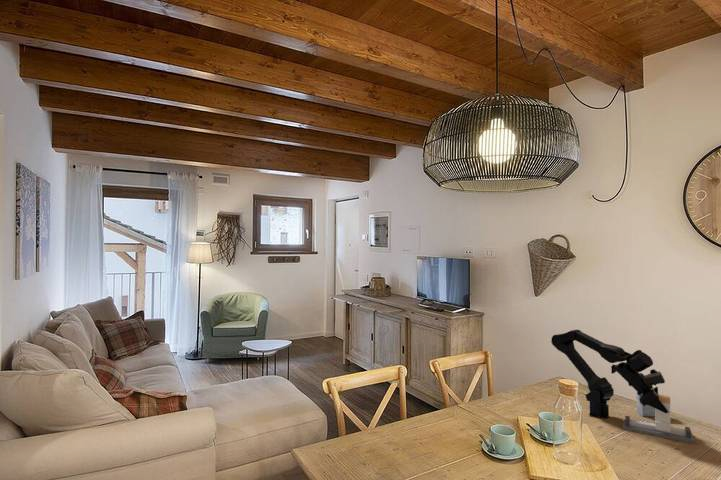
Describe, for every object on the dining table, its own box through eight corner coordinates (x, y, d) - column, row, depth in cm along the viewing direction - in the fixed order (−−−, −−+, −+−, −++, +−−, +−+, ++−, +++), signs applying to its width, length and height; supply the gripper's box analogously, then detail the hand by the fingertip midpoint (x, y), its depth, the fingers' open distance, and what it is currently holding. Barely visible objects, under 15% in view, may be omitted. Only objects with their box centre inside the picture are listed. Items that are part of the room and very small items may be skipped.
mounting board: (622, 429, 162) (622, 420, 163) (623, 421, 169) (623, 413, 169) (694, 443, 150) (694, 434, 150) (692, 435, 157) (691, 426, 157)
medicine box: (656, 412, 178) (655, 392, 178) (662, 417, 173) (662, 396, 173) (636, 412, 178) (636, 392, 178) (642, 416, 174) (642, 396, 174)
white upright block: (655, 429, 157) (655, 398, 157) (655, 421, 163) (654, 392, 163) (670, 432, 154) (670, 401, 154) (669, 424, 161) (669, 394, 161)
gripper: (650, 370, 153) (688, 407, 147) (649, 358, 169) (683, 391, 163) (625, 387, 158) (661, 423, 151) (626, 374, 173) (659, 406, 167)
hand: (667, 410), depth 158 cm, fingers closed on white upright block, 4 cm apart
